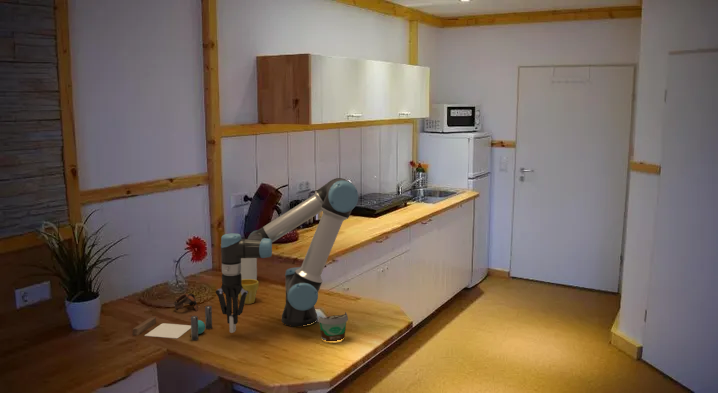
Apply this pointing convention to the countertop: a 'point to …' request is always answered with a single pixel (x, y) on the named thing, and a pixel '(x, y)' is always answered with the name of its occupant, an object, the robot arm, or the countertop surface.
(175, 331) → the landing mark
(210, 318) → the post
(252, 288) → the plant pot
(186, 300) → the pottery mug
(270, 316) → the countertop surface
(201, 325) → the ball
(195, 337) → the post
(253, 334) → the countertop surface
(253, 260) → the utensil holder
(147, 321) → the wall
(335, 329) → the food container
